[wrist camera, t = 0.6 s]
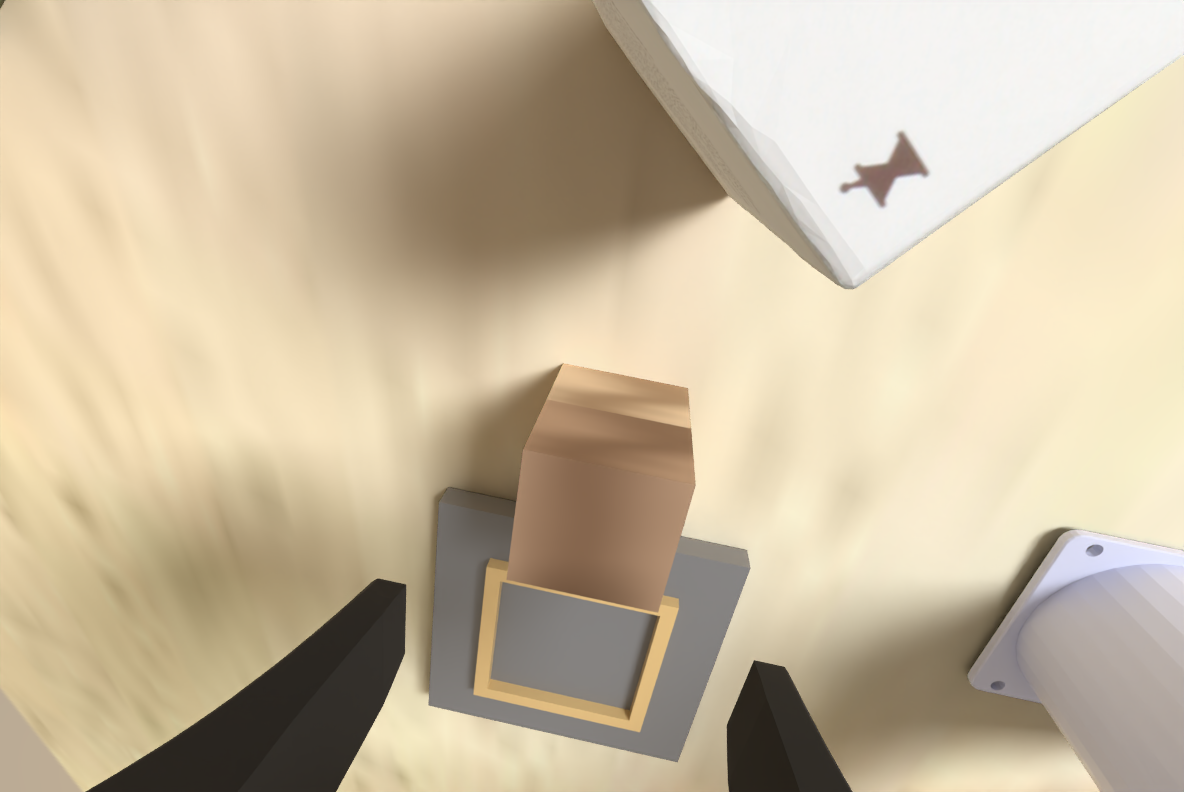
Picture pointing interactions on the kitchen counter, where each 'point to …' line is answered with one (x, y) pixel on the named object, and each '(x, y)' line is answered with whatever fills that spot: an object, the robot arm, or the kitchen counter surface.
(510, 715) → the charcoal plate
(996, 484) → the kitchen counter surface
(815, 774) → the robot arm
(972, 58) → the skincare box
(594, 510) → the tan wooden block
